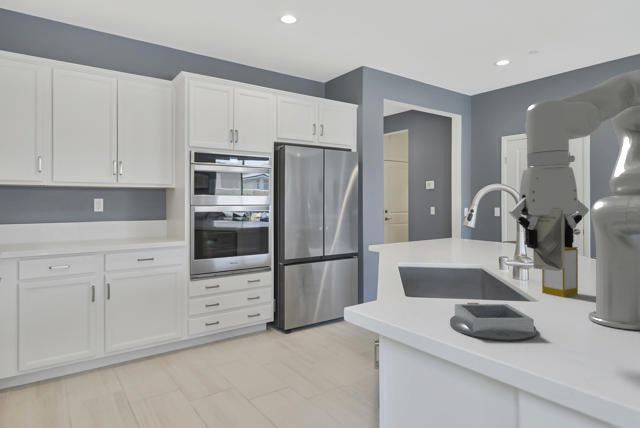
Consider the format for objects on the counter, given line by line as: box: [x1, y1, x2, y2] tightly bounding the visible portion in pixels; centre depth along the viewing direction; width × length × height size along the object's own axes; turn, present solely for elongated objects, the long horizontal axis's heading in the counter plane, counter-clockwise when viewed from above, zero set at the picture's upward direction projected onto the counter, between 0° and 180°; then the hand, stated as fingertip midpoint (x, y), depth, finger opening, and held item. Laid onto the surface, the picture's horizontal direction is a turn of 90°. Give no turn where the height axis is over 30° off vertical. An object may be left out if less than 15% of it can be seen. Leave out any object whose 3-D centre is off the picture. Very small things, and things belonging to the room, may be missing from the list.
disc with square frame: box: [449, 302, 537, 342], centre depth 94 cm, size 19×22×4 cm
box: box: [532, 209, 565, 271], centre depth 80 cm, size 5×4×13 cm
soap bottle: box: [541, 246, 579, 298], centre depth 125 cm, size 7×13×24 cm, turn 115°
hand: (549, 246), depth 80 cm, fingers closed on box, 6 cm apart
